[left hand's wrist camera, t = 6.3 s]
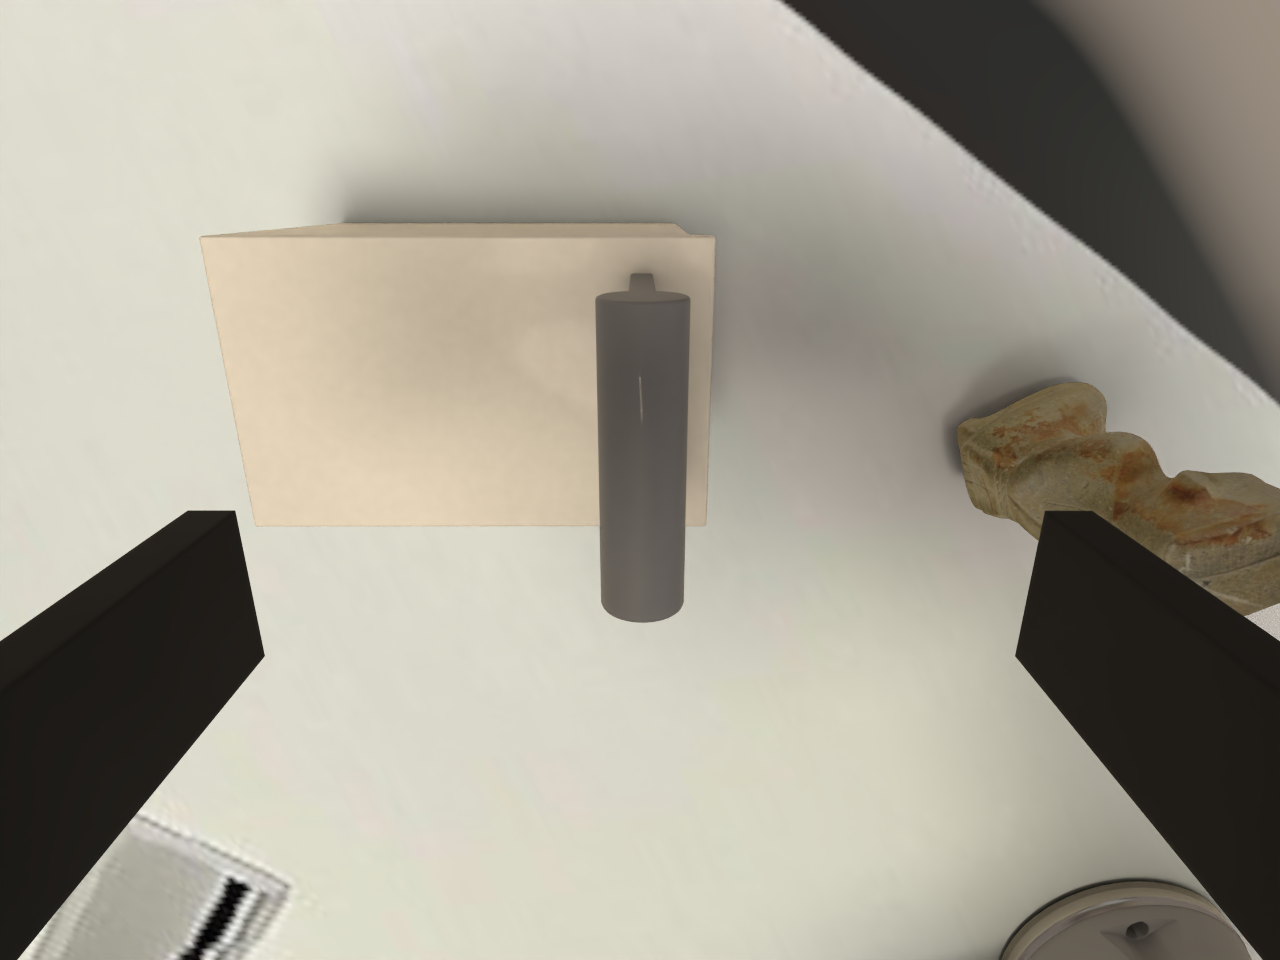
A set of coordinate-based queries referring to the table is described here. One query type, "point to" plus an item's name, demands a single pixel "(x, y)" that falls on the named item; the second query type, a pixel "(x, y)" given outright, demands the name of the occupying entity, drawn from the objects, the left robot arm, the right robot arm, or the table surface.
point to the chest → (479, 229)
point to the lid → (477, 387)
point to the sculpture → (1124, 492)
